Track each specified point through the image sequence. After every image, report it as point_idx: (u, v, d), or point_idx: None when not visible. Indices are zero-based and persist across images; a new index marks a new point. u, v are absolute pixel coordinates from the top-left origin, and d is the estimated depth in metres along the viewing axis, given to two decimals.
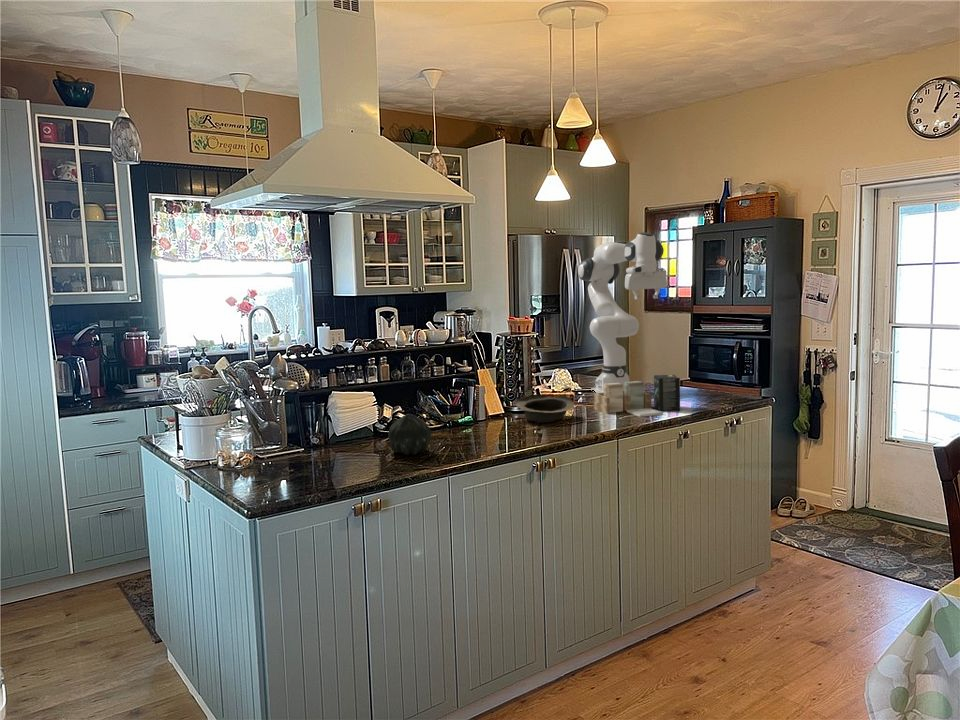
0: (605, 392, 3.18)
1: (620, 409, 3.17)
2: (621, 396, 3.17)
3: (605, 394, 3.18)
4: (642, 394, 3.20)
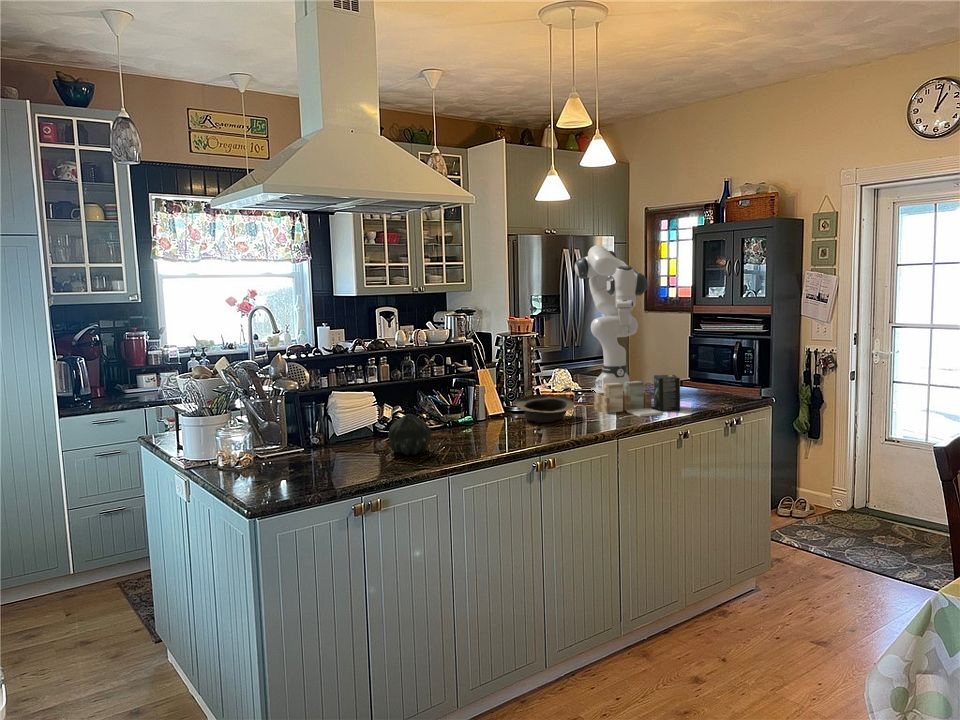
0: (605, 392, 3.18)
1: (620, 409, 3.17)
2: (621, 396, 3.17)
3: (605, 394, 3.18)
4: (642, 394, 3.20)
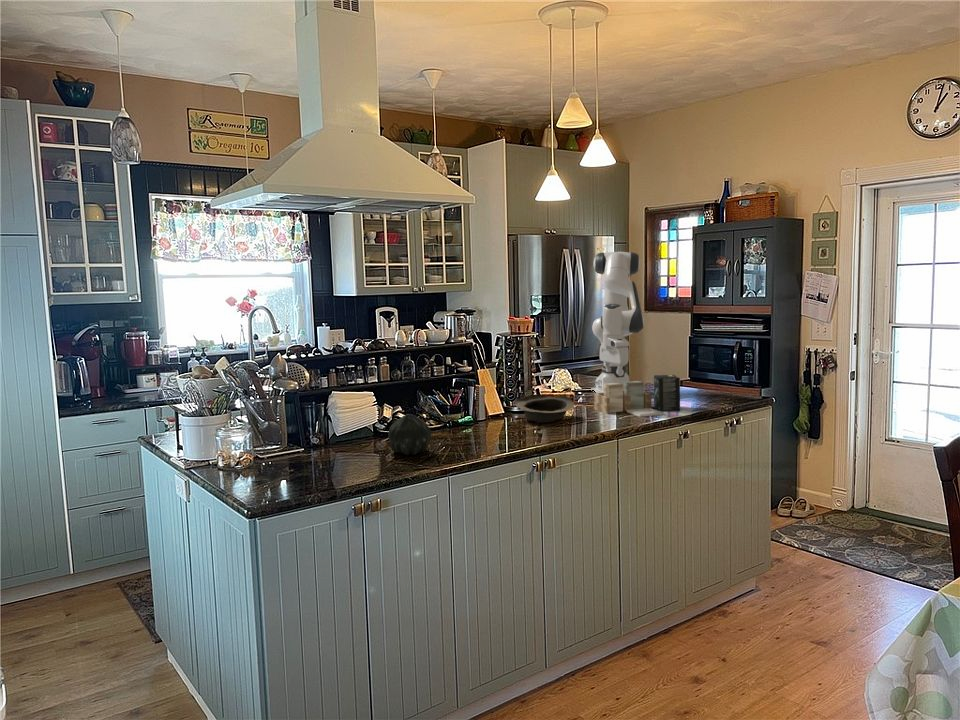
0: (605, 392, 3.18)
1: (620, 409, 3.17)
2: (621, 396, 3.17)
3: (605, 394, 3.18)
4: (642, 394, 3.20)
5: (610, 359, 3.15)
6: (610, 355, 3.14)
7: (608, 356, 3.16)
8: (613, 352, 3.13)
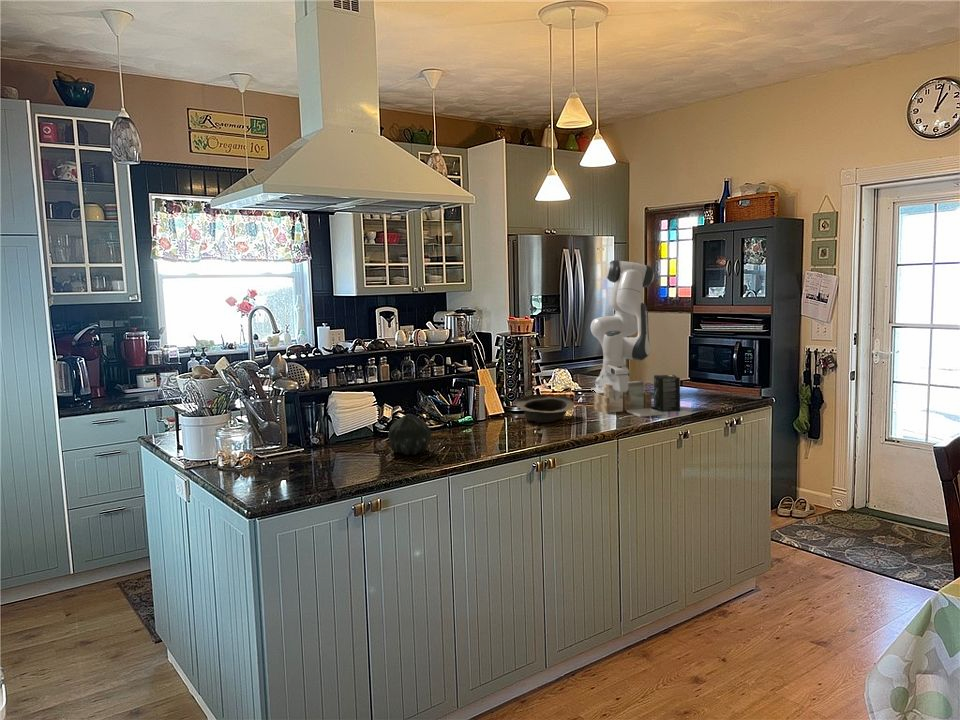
0: (605, 392, 3.18)
1: (620, 409, 3.17)
2: (621, 396, 3.17)
3: (605, 394, 3.18)
4: (642, 394, 3.20)
5: None
6: (610, 381, 3.16)
7: (608, 383, 3.18)
8: (613, 379, 3.14)
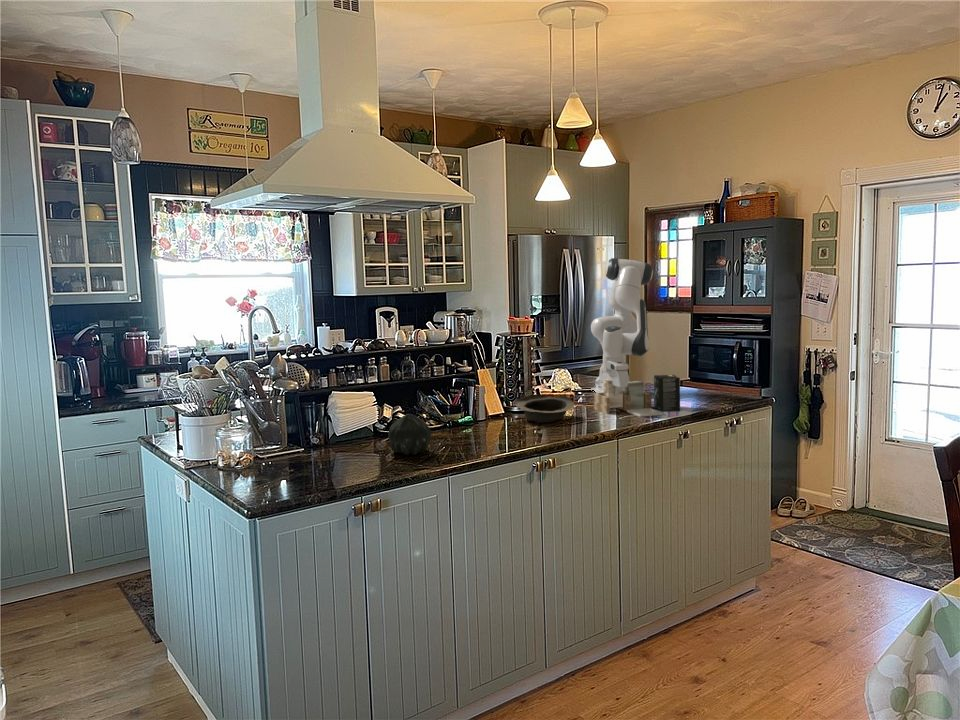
0: (605, 388, 3.17)
1: (620, 405, 3.17)
2: (621, 392, 3.17)
3: (605, 390, 3.18)
4: (642, 394, 3.20)
5: None
6: (610, 377, 3.16)
7: (608, 379, 3.18)
8: (613, 375, 3.14)
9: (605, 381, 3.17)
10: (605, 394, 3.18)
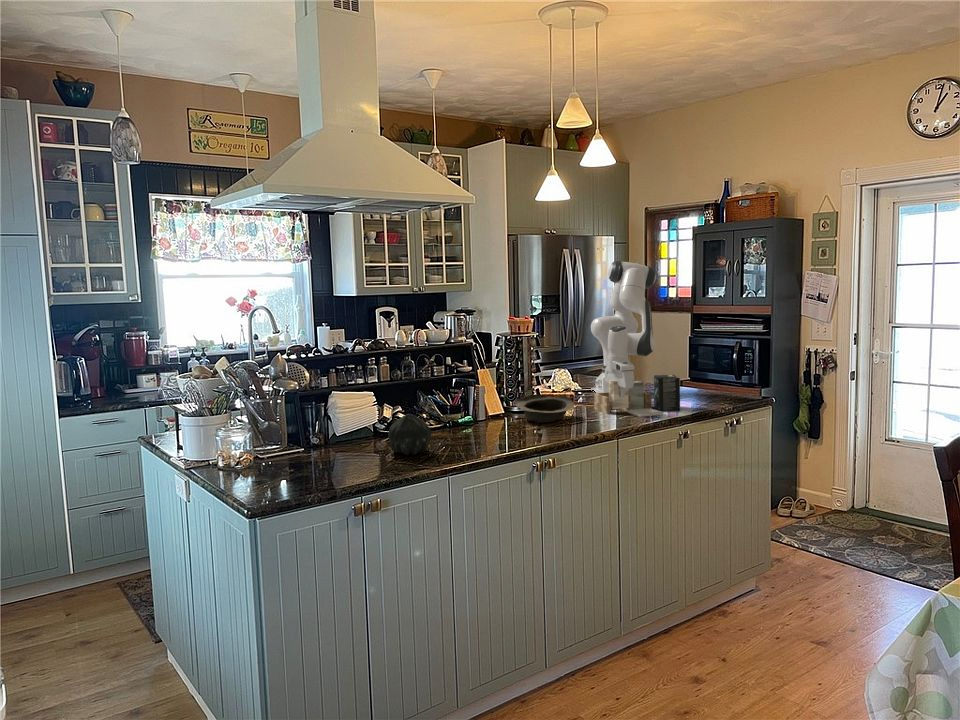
0: (610, 388, 3.13)
1: (625, 406, 3.13)
2: (626, 392, 3.12)
3: (610, 390, 3.13)
4: (642, 394, 3.20)
5: None
6: (616, 378, 3.11)
7: (613, 379, 3.13)
8: (618, 375, 3.09)
9: (610, 382, 3.12)
10: (610, 395, 3.13)
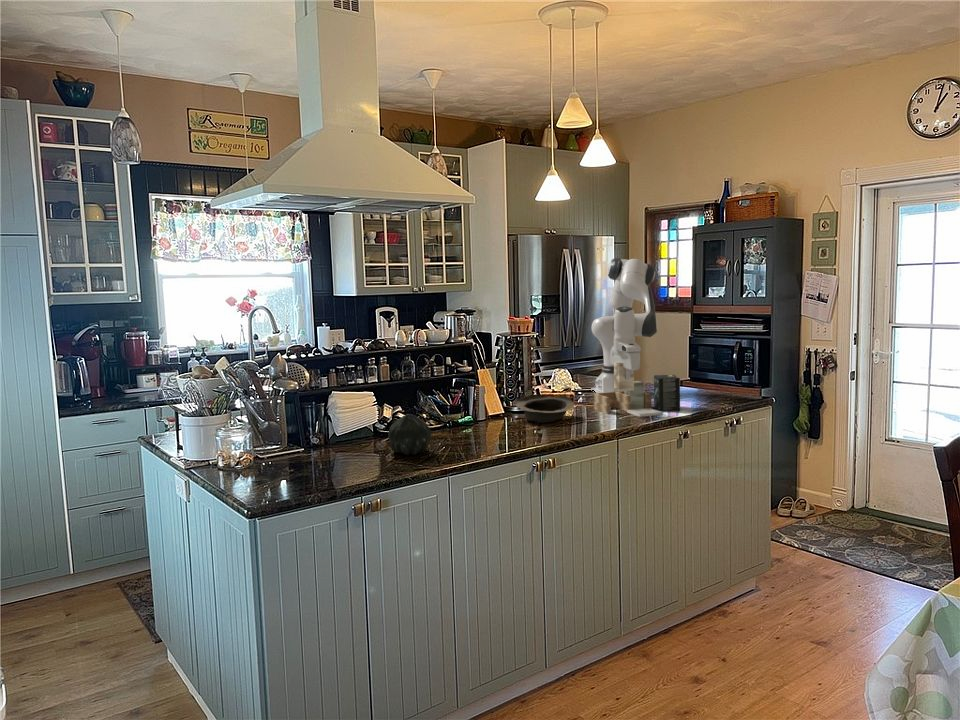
0: (615, 370, 3.06)
1: (631, 388, 3.06)
2: (632, 375, 3.06)
3: (615, 372, 3.06)
4: (642, 394, 3.20)
5: None
6: (621, 359, 3.04)
7: (619, 361, 3.06)
8: (624, 357, 3.03)
9: (616, 363, 3.06)
10: (616, 377, 3.06)
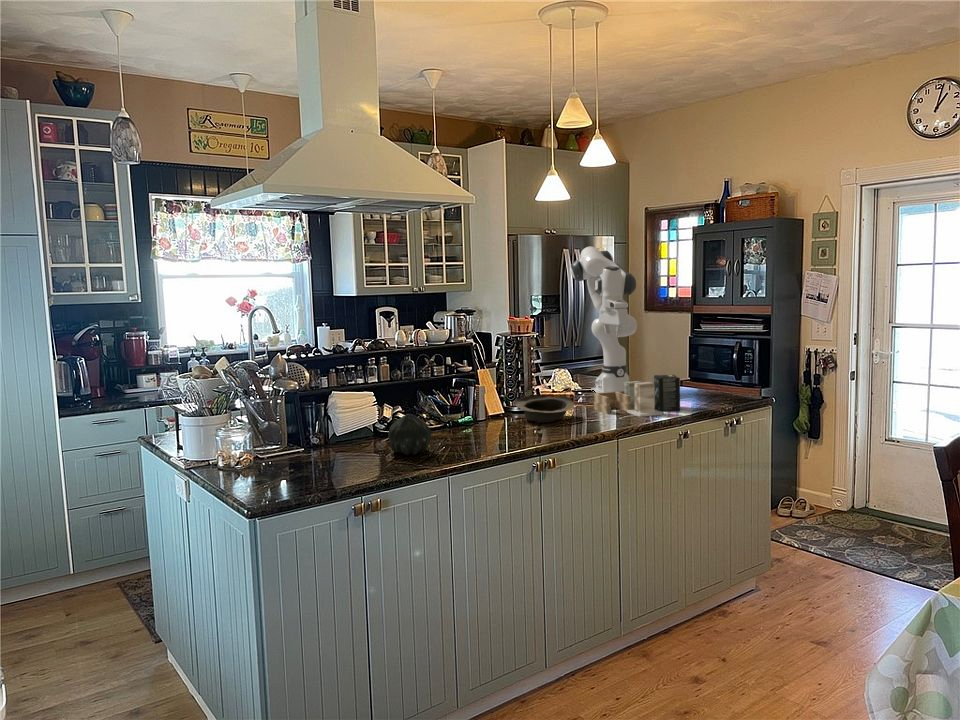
0: (636, 392, 3.10)
1: (651, 409, 3.10)
2: (652, 396, 3.09)
3: (636, 394, 3.10)
4: None
5: (609, 320, 3.20)
6: (610, 316, 3.19)
7: (608, 318, 3.21)
8: (612, 314, 3.17)
9: (636, 385, 3.09)
10: (636, 398, 3.10)
